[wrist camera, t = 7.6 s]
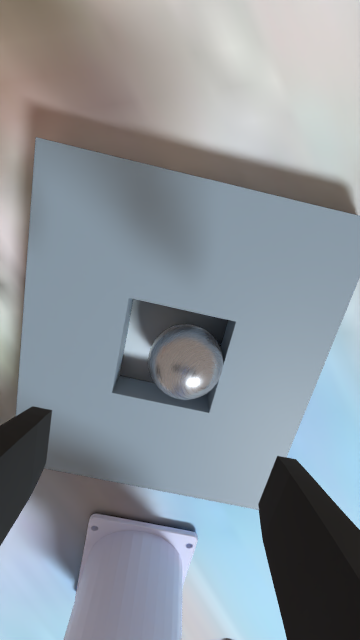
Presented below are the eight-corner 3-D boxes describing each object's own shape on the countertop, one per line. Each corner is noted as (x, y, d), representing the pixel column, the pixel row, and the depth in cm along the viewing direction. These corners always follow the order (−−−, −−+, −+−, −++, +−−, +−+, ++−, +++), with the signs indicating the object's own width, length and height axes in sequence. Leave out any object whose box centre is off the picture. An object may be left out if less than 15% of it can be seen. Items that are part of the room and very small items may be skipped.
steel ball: (186, 374, 20) (225, 412, 17) (129, 376, 18) (161, 419, 15) (204, 316, 19) (248, 344, 16) (145, 310, 17) (183, 341, 14)
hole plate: (257, 485, 22) (264, 511, 20) (28, 440, 21) (12, 462, 19) (359, 221, 16) (382, 221, 14) (54, 147, 16) (35, 136, 14)
